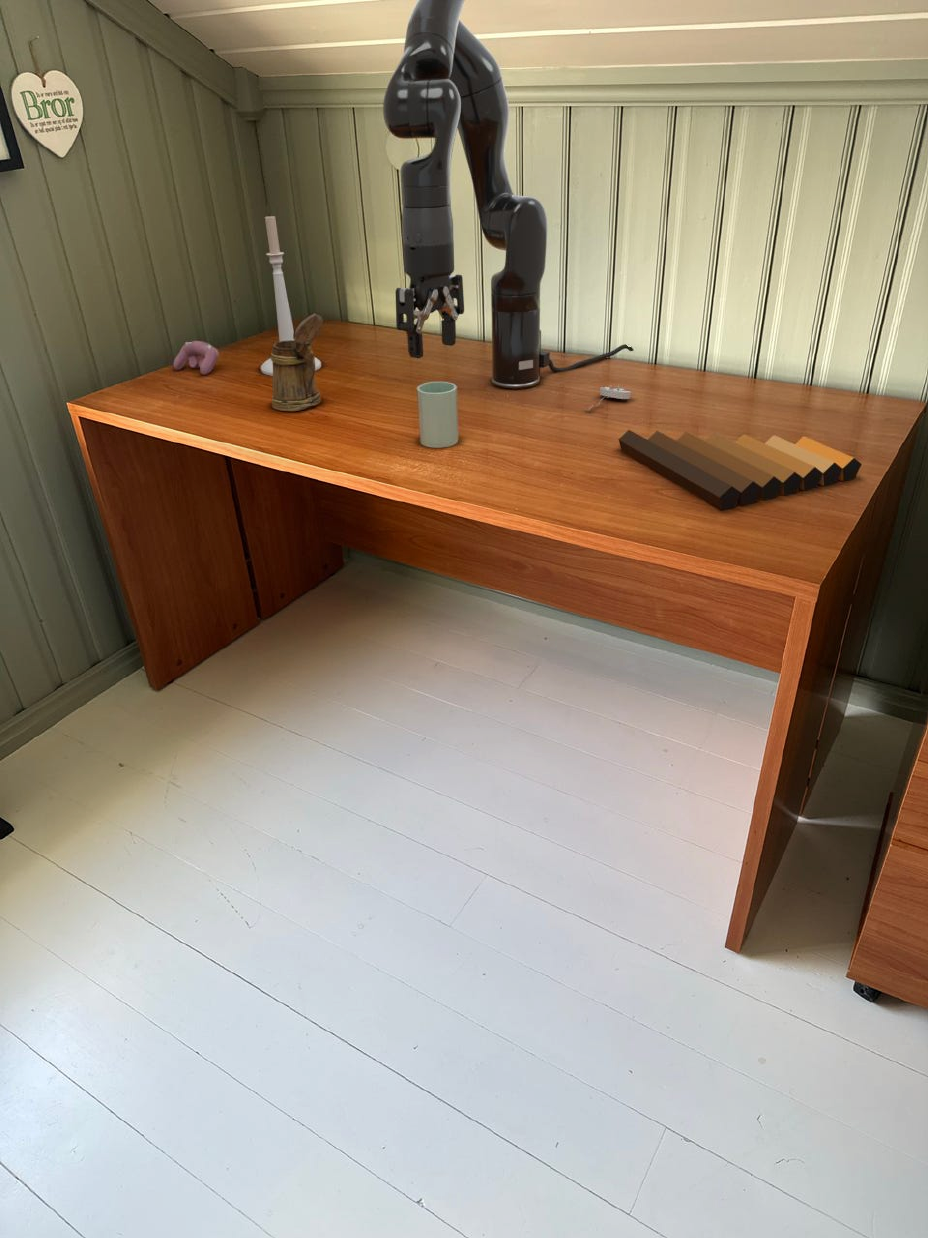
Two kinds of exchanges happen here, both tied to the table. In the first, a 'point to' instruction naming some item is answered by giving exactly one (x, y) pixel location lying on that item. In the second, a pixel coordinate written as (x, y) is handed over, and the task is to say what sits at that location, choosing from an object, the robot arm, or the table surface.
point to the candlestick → (279, 293)
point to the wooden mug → (296, 368)
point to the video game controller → (197, 356)
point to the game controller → (614, 393)
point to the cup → (438, 414)
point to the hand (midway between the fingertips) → (432, 350)
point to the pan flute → (740, 465)
